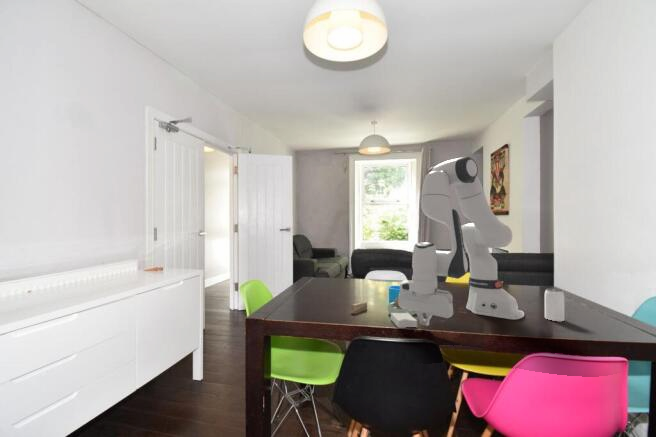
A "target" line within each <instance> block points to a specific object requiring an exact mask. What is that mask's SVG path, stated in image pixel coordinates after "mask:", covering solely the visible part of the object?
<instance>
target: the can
mask: <svg viewBox="0 0 656 437" xmlns="http://www.w3.org/2000/svg"><path fill="white" fill-rule="evenodd" d="M544 318H545V320H547V319H548V321H550V320H552V321H551V322H554V321H557V322H556V323H562V321H563V322H564V321H565V294H564V290H563V289H559V288H545V291H544Z"/></svg>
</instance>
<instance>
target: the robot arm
mask: <svg viewBox="0 0 656 437" xmlns="http://www.w3.org/2000/svg"><path fill="white" fill-rule="evenodd" d="M478 171H479V168H478V164H477V162H476V161H475V160H474V159H473V158H472V157H469V156H462V157H459V158H453V159H449V160H446V161H444V162H441V163H439V164H437V165H433V166H431V167H430V168H429V169H428V170H427V172H426V174H425V177H424V179H423V184H422V189H421V198H420V208H421V211H422V213H423V214H424V215H425V216H426V217H427V218H429V219H430V220H433V221H435V222H439V223H441V224H443V225H445V226H446V227H447V228H448V230H449V235H450V236H449V237H450V243H451V250H437V247H436V244H435V243H433V242H432V241H431V242H428V241H421V242H417V243H415V244H414V246H413V250H412V261H411V263H412V264H411V267H412V270H413V271H412V276H411V280H408V281H407V282H403V283H400V284H399V286H400V289H402V290H400V292H399V299H398V304H399V306H400V307H401V308H405V309H409V310H413V311H417V314H416V316H417V317H418V319H419V325H423V326H427V327H428V326H430V320H431V319H432V318H433V316H436V317H440V318H445V319H449V318H452V317H453V315H454V307H453V306H454V305H453V300H454V299H453V294H452V293H451V292H450V291H449V290H446V289H441V288H438V277H448V278H453V279H455V280H456V279H460V278H463V277H464V276H465V275H466V274H467V273H468V270H469V277H468V289H469V293H468V299H467V303H466V305H465V308H466V310H468V311H469V312H470V311H471V312H472V313H473V314H475V315H479V316H481V315H482V316H486V317H487V316H488V317H494V318H501V319H507V320H513V321H514V320H520V319H522V318H524V317H525V312H524V311H523V310H519V306H518V302H517V299H516V298H515V297H514V296H512V295H511V294H510V293H508V292H507V290H505V289H504V288H503V284H504V281H503V280H502V281H501V280H500V279H499V278H498V261H497V259H496V258H495V257H493V255H492V254H491V252H490V250H489V249H500V248H501V249H502V248H506V247H508V246H509V245H510V244H511V243H512V240H513V232H512V229H511V228H510V226H508V225H507V224H505V223H503V222H502V221H501V220H500V219H499V218H498V217H497V216H496V215H495V213H494V212H493V211H492V209H491V208H490V205H489V203H488V199H487V197H486V194H485V191H484V188H483V186H482V185H483V184H482V183H481V181H480V179H479V177H478V173H479V172H478ZM453 187H454V191H455V195H456V199H457V202H458V206H459V208H460V210H461V214H462V215H463V216H464V217H465V218H467V219H468V220H469V221H470V222H469V223H465V224H463V225H461V223H462V222H461V219H460V215H459V213H458V211H457V210H456V209H454V208H453V207H452V204H451V188H453ZM466 253H467V255H466ZM467 256H468V259H469V260H468V259H467ZM468 262H469V265H468ZM423 314H425V317H426V318H424V316H423Z"/></svg>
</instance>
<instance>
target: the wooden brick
mask: <svg viewBox="0 0 656 437" xmlns="http://www.w3.org/2000/svg"><path fill="white" fill-rule="evenodd" d="M367 310H368V301H365V300H364V301H360V302H356V303H353V304H351V314H355V315H356V314H358V313H363V312H365V311H367ZM362 311H363V312H362Z"/></svg>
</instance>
